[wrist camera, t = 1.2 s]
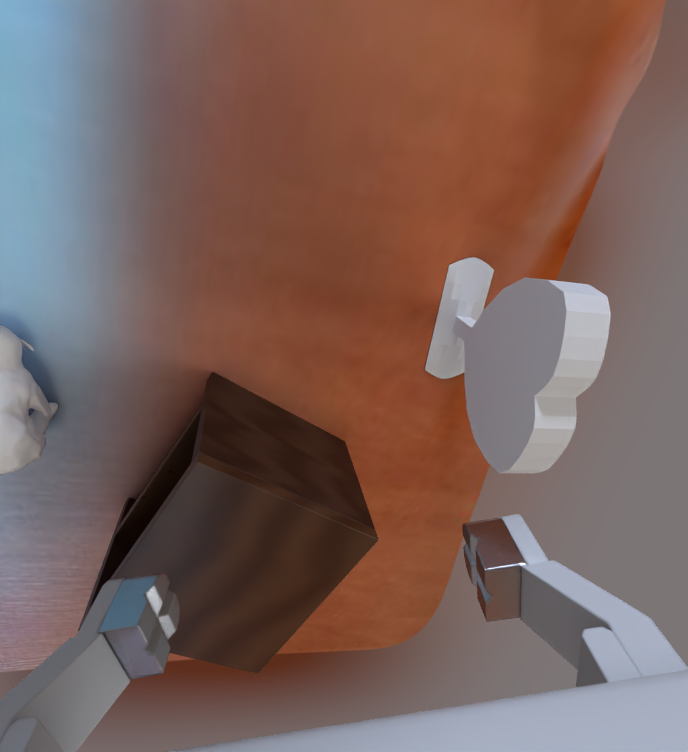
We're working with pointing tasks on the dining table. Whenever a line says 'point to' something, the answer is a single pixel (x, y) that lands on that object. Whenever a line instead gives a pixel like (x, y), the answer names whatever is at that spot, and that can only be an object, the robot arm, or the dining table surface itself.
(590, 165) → the dining table surface
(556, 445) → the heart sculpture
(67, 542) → the dining table surface
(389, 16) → the dining table surface
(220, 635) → the shelf stand
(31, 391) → the white figurine
